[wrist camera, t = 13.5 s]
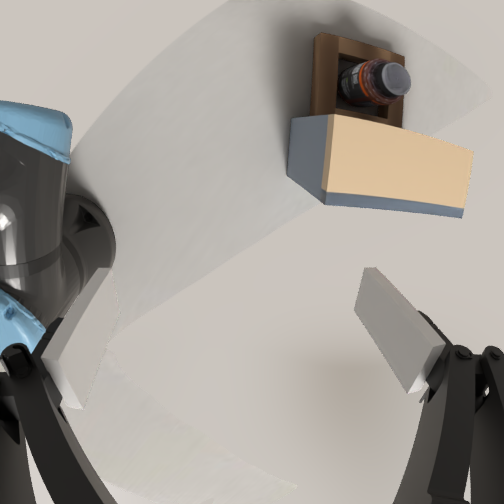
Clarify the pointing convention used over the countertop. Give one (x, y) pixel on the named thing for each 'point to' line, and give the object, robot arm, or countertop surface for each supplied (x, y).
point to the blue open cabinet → (377, 166)
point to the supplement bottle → (373, 83)
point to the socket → (327, 74)
